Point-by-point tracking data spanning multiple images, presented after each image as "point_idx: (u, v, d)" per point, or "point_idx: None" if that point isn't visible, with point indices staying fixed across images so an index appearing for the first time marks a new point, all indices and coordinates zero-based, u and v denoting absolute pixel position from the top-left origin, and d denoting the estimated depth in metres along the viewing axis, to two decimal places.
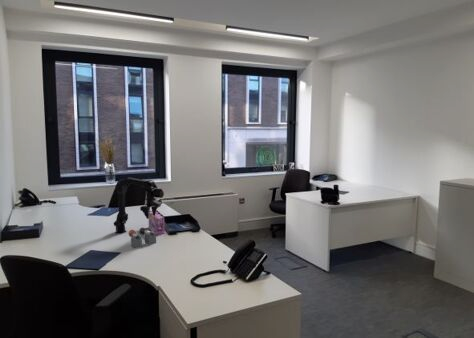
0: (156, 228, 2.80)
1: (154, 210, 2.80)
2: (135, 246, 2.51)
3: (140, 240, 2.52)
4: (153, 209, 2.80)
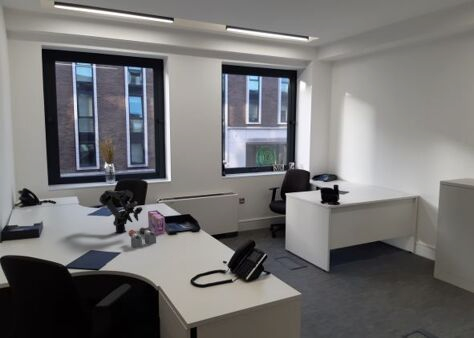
0: (156, 228, 2.81)
1: (135, 216, 2.75)
2: (135, 246, 2.51)
3: (140, 240, 2.52)
4: (135, 216, 2.76)
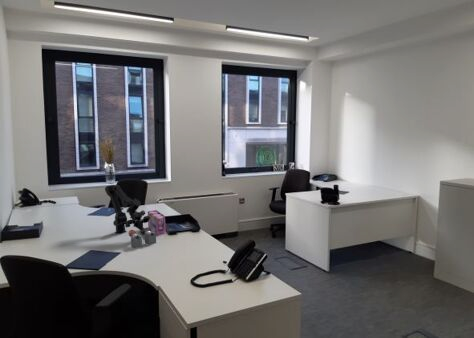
0: (157, 228, 2.81)
1: None
2: (135, 246, 2.51)
3: (140, 240, 2.52)
4: None
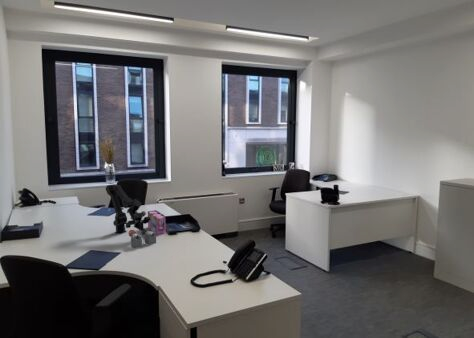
0: (157, 228, 2.81)
1: (141, 226, 2.67)
2: (135, 246, 2.51)
3: (140, 240, 2.52)
4: None
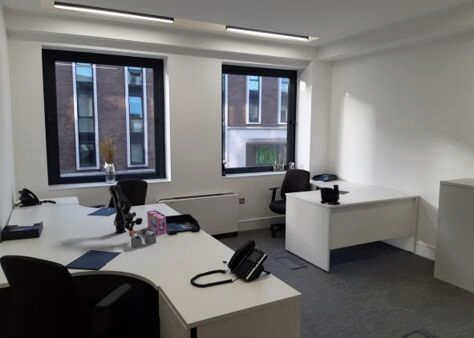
0: (158, 228, 2.81)
1: None
2: (135, 246, 2.51)
3: (140, 240, 2.52)
4: None
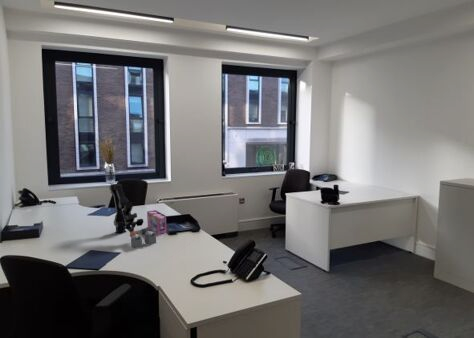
0: (158, 228, 2.81)
1: (132, 228, 2.62)
2: (135, 246, 2.51)
3: (140, 240, 2.52)
4: (131, 228, 2.63)
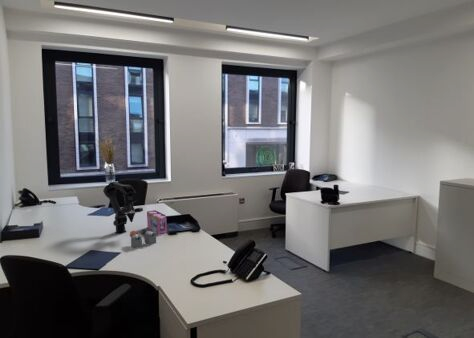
0: (159, 228, 2.82)
1: None
2: (135, 246, 2.51)
3: (140, 240, 2.52)
4: None
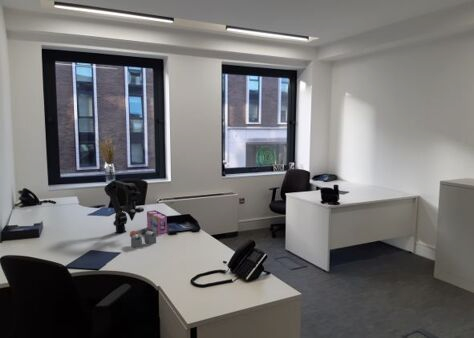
0: (159, 227, 2.82)
1: None
2: (135, 246, 2.51)
3: (140, 240, 2.52)
4: None
